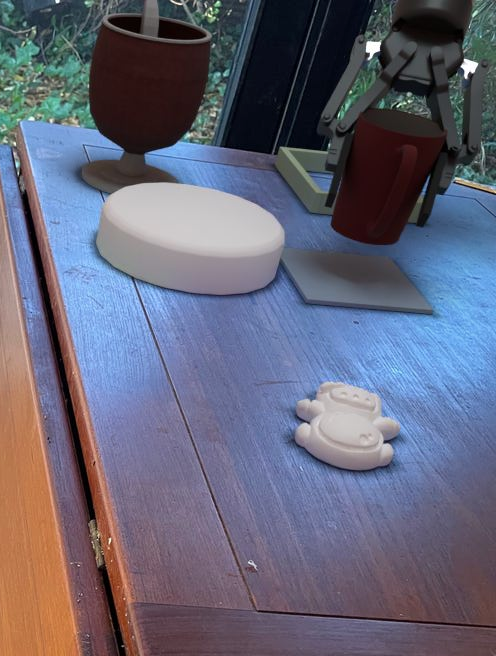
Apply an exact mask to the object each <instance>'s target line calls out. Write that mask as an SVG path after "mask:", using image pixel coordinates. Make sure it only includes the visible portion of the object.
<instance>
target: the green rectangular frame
mask: <svg viewBox="0 0 496 656" xmlns="http://www.w3.org/2000/svg"><path fill="white" fill-rule="evenodd" d="M328 152H329V151H325V150H324V151H323V150H316V149H315V150H314V149H305V148H296V147H286V146H279V148H278V151H277V156H276V158H275V163H274V167H275V168H276V169H277V171H278V172H279V173H280V175H281V176H282V177H283V179H284V180H285V182H286V183H287V184H288V185H289V186H290V188H291V189H292V191H293V192H294V193H295V195H296V196H297V197H298V199H299V200H300V201H301V203H302V204H303V206H305V208H306V209H307V211H308V212H309V213H310V214H319V215H320V214H321V215H328V216H332V215H333V211H334V207H335V203H336V199H337V195H338V192H337V195H336V198H335V200H334V203H333V206H332V208H329V207H324V206H325V203H326V199H327V196H328V192H329V190H321V188H320V187H319V186H318V184H317V183H316V182H315V180H314V179H313V178H312V177H311V176H310V175H309V173H308V172H311V173H321V174H322V173H323V174H331V175H334V172H330V171H325V162H326V159H327V155H328ZM342 175H343V174H342ZM423 198H424V196H423V195H422V194H420V197H419V199H418V201H417V203H416V205H415V207H414V209H413V211H412V213H411V215H410V218H409V220H408V222H407V223H412V224H416V223H417V220H418V216H419V213H420V209H421V205H422V202H423Z"/></svg>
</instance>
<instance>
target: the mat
mask: <svg viewBox="0 0 496 656" xmlns="http://www.w3.org/2000/svg"><path fill="white" fill-rule="evenodd" d="M279 264H280V265H281V266H282V268H283V270H284V271H285V272H286V274H287V276H288V277H289V279H290V280H291V282H292V283H293V285H294V287H295V288H296V290H297V292H298V293H299V295H300V296H301V298H302V299H303V301H304V302H305V304H307V305H308V304H310V305H318V306H319V305H320V306H331V307H332V306H333V307H344V308H356V309H367V310H379V311H390V312H403V313H411V314H412V313H413V314H426V315H433V314H434V311H435V310H434V308H433V307H432V306H431V304H430V303H429V302H428V301H427V300H426V298H425V297H424V296H423V295H422V294H421V293H420V292H419V290H418V288H416V287H415V285H414V284H413V283H412V282H411V281H410V279H409V278H408V276H406V275H405V274H404V272H403V271H402V270H401V268H400V267H398V265H397V264H396V262H395V261H394V260H393V259H392V258H391V257H390V256H379V255H369V254H358V253H347V252H337V251H327V250H326V251H325V250H315V249H314V250H313V249H303V248H295V247H293V248H292V247H285V246H284V247H283V251H282V254H281V258H280V261H279Z"/></svg>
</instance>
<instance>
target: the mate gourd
mask: <svg viewBox="0 0 496 656" xmlns="http://www.w3.org/2000/svg"><path fill="white" fill-rule="evenodd" d="M143 2H144V3H143V9H142V13H131V12H130V13H129V12H120V13H119V12H118V13H111V14H107V15H104V16H102V17H101V24H100V28H99V30H98V33H97V36H96V40H95V43H94V46H93V51H92V54H91V60H90V61H91V62H90V68H89V75H88V103H89V105H88V106H89V113H90V115H91V117H92V120H93V122H94V124H95V126H96V130H97V131H98V133H99V134H100V135H102V136H103V137H104V138H105V139H107V140H109V141H110V142H112V143H113V144H115V145H116V146H118V147H119V148H121V149H122V150H123V152H122V154H121V156H120V157H119V159H97V160H93V161H90V162H87V163H86V164H84V165H83V167H81V178H82V180H83V181H84V182H85V183H86V184H87V185H89V186H91V187H92V188H94V189H96V190H99V191H100V192H101V191H102V192H104V193H107V194H110V195H111V194H113V193H115V192H116V191H118V190H120V189H122V188H124V187H127V186H132V185H137V184H142V183H177V184H179V182H178V179H177V178H176V177H175V176H174V175H173V174H171V173H169V172H168V171H166V170H164V169H161V168H159V167H157V166H154V165H150V164H147V161H146V154H148V153H151V152H154V151H160V150H163V149H166V148H171V147H173V146H175V145H176V144H178V142H180V140H181V139H182V138H183V137H184V136H185V135H186V134H187V133H188V132H189V131H190V130H191V129H192V127H193V125H194V123H195V121H196V118H197V116H198V113H199V110H200V108H201V105H202V102H203V99H204V96H205V92H206V88H207V83H208V79H209V74H210V63H211V52H212V51H211V49H212V48H211V45H212V44H211V41H212V38H213V35H212V33H211V32H210V31H209V30H208V29H206V28H203V27H201V26H198V25H196V24H193V23H190V22H187V21H183V20H179V19H175V18H170V17H165V16H160V10H159V4H158V0H144V1H143Z"/></svg>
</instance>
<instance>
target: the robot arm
mask: <svg viewBox="0 0 496 656" xmlns="http://www.w3.org/2000/svg"><path fill="white" fill-rule="evenodd" d="M475 3H476V0H397V1H396V5H395V8H394V10H393V15H392V17H391V22H390V25H389V30H388V32H387V34H386V36H385V37H384V38H383V39H382V40H381V41H368V37H367V36H366V35H364V34H359V35H357V36H356V37H355V40H354V43H353V46H352V49H351V52H350V55H349V63H348V64H347V67H346V68H345V70H344V72H343V73H342V75H341V78H339V81H338V83H337V85H336V87H335V88H334V90H333V92H332V94H331V96H330V98H329V99H328V101H327V103H326V105H325V107H324V109H323V110H322V112H321V115H320V118H319V120H318V123H317V127H316V133H317V135H318V136H321V137H323V136H325V137H327V138H328V139H329V140H330V145H329V149H328V151H327V152H328V155H327V159H326V162H325V171H330V172H334V174H332V179H331V182H330V184H329V185H330V186H329V189H328V191H329V192H328V196H327V199H326V203H325V206H324V207H329V208H332V206H333V203H334V200H335V198H336V195H337V192H338V191H339V187H340V183H341V179H342V174H343V171H344V167H345V164H346V160H347V157H348V153H349V150H350V146H351V143H352V139H353V136H354V134H353V133H354V129H355V126H356V122H357V119H358V116H359V113H360V111H362V114H363V113H365V112H366V111H367V110H369V109H370V108H376V106H378V104H379V103H380V102H381V101H382V100H384V99H385V98H386V97H387V96H388V95H389V93H391V91H393V92H396V93H402V94H403V93H410V94H412V95H413V96H416V97H422V98H424V99H425V104H426V108H427V109H429V114H430V118H431V120H433V121H435V122H437V123H438V125H439V127H440V129H441V130H442V131H445V129H447V131H448V133H447V136H446V139H445V141H444V144H443V146H442V148H441V151H440V153H439V155H438V158H437V160H436V162H435V164H434V167H433V169H432V171H431V173H430V175H429V177H428V180H427V183H426V188H425V192H424V194H423V195H424V196H423V202H422V205H421V209H420V213H419V216H418V220H417V223H415V227H418V228H424V227H425V225H426V223H427V222H428V220H429V218H430V217H431V216H432V212H433V208H434V204H435V201H436V198H437V195H438V196H444V195H445V194H446V192H447V191H448V189H449V188H450V186H451V184H452V181H453V177H454V174H455V171H456V166H457V165H463V166H470V165H472V164H473V162H474V160H475V159H476V157H477V156H478V154H479V152H480V150H481V148H482V135H483V133H482V131H483V130H482V129H483V110H484V109H483V107H484V85H485V80H486V77H487V76H488V73H489V70H490V68H491V66H492V62H491V60H490V59H488V58H482V59H480V60H479V61H478V62H476V61H473V60H470V59H467V58H465V53H464V49H463V46H464V42H465V38H466V36H467V35H466V34H467V31H468V28H469V24H470V20H471V17H472V14H473V10H474V5H475ZM375 58H377V60H378V63H379V65H380V67H381V70H382V71H381V73H380V75H379V76H378V78H377V79H376V80H375V81H374V82H373V83H372V84H371V85H370V86H369V87H368V89H367V90H366V91H365V92H364V93H363V94H362V95H361V96H360V98H359V99H358V100H357V101H356V102H355V103H354V104H353V105H352V107H351V108H350V109H349V110H348V111H347V112H346V113H345V114H344V115H343V116H342V117H341V118H340V120H339V119H337V117H338V115H339V113H340V111H341V109H342V107H343V105H344V104H345V102H346V100H347V98H348V96H349V94H350V92H352V91H351V90H352V89H353V87H354V86H355V84H356V82H357V79H358V78H359V75H360V72H361V69H364V68H366V67H367V66H369V65H370V64H371V61H372V60H373V59H375ZM457 74H459V75H460V76H461V81H460V82H461V84H462V88H464V89H465V91H464V94H463V100H462V102H463V103H462V104H463V105H462V124H461V141H460V137H459V132H458V128H457V123H456V119H455V114H454V109H453V105H452V101H451V96H450V92H449V89H450V82H449V81H450V79H452V78H453V77H454V76H456V75H457Z"/></svg>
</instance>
